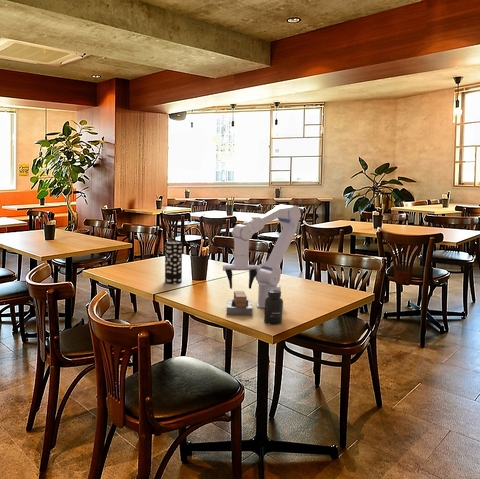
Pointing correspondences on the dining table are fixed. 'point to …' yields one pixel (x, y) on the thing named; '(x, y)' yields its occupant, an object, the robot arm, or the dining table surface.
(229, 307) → the cradle
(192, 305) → the dining table surface
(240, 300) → the walnut block
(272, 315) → the supplement bottle
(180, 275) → the spotted tube
